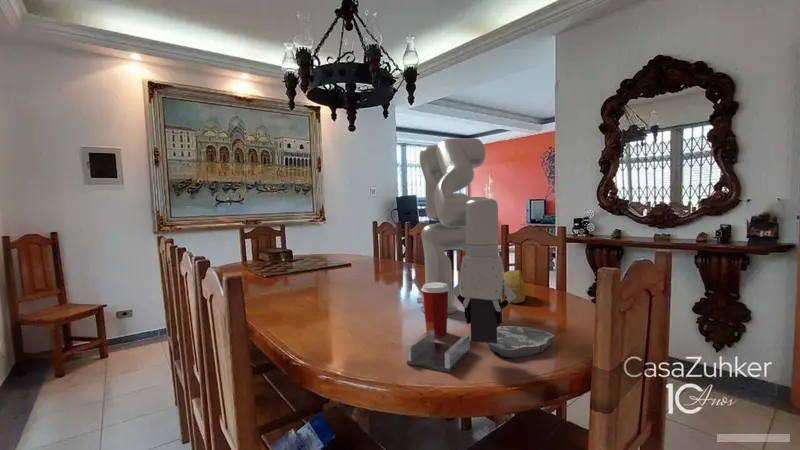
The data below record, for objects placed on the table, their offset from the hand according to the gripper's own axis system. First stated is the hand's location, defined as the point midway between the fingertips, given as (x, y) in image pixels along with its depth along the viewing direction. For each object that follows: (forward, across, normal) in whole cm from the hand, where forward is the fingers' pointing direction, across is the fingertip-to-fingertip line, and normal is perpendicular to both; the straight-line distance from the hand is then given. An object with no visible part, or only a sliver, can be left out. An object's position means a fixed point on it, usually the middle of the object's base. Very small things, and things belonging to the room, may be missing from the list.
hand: (483, 323), depth 95 cm
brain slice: (+11, +4, +15) cm, 19 cm away
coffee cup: (+11, -19, +15) cm, 27 cm away
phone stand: (+3, 0, 0) cm, 3 cm away
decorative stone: (+12, -8, +64) cm, 65 cm away
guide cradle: (+10, -11, -1) cm, 16 cm away
